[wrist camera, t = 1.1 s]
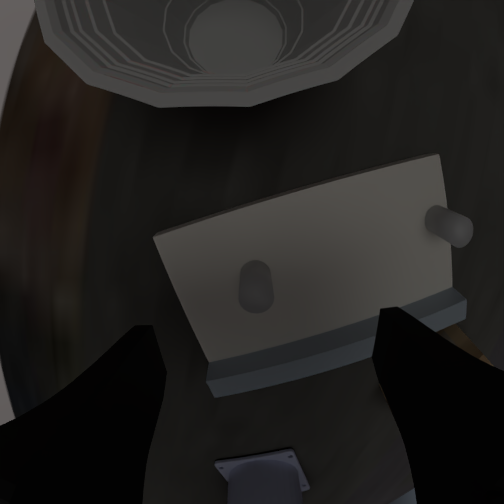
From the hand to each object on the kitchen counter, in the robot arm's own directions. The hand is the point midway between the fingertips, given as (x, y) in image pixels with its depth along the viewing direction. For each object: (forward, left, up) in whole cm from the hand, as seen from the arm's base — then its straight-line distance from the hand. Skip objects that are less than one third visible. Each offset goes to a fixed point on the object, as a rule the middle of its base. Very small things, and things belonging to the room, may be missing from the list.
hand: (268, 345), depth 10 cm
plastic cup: (+12, -2, -11) cm, 16 cm away
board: (-3, -3, -10) cm, 11 cm away
